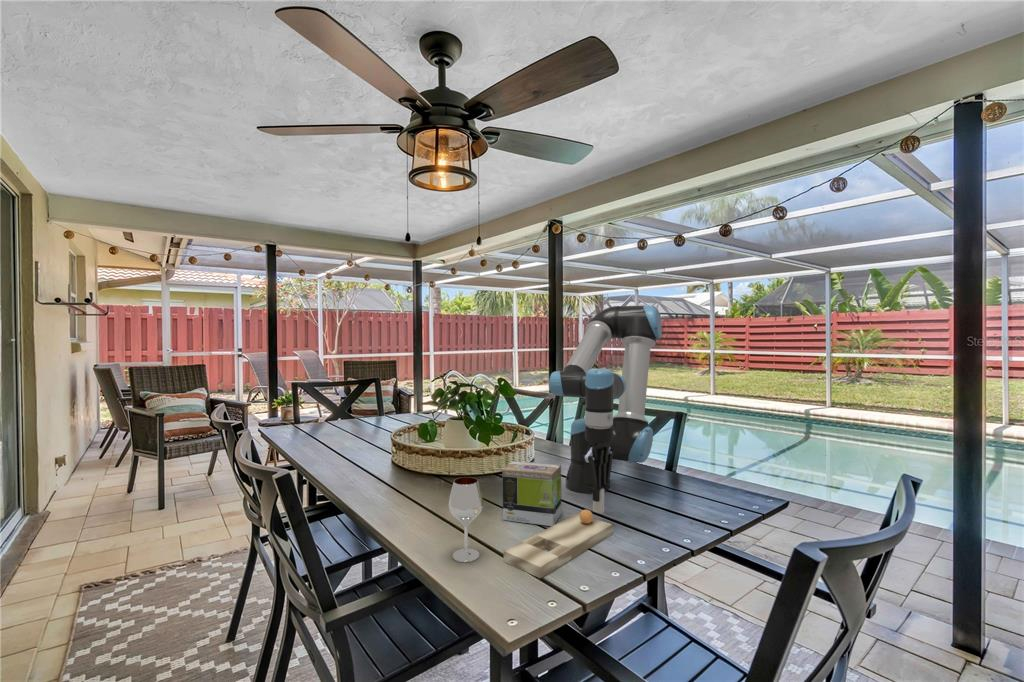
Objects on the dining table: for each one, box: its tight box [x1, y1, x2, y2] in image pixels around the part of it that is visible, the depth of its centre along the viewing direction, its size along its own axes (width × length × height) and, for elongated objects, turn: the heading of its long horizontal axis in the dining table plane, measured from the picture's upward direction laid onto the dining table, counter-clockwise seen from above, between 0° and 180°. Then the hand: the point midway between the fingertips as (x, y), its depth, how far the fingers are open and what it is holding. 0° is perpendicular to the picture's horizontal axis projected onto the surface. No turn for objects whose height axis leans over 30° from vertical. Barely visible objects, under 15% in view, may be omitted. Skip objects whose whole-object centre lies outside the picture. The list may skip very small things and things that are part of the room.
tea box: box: [501, 460, 562, 527], centre depth 135 cm, size 15×10×15 cm, turn 71°
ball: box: [579, 509, 594, 524], centre depth 125 cm, size 4×4×4 cm
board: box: [503, 513, 613, 579], centre depth 117 cm, size 11×30×2 cm, turn 137°
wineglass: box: [448, 476, 484, 563], centre depth 112 cm, size 8×8×18 cm
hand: (598, 511), depth 129 cm, fingers closed
